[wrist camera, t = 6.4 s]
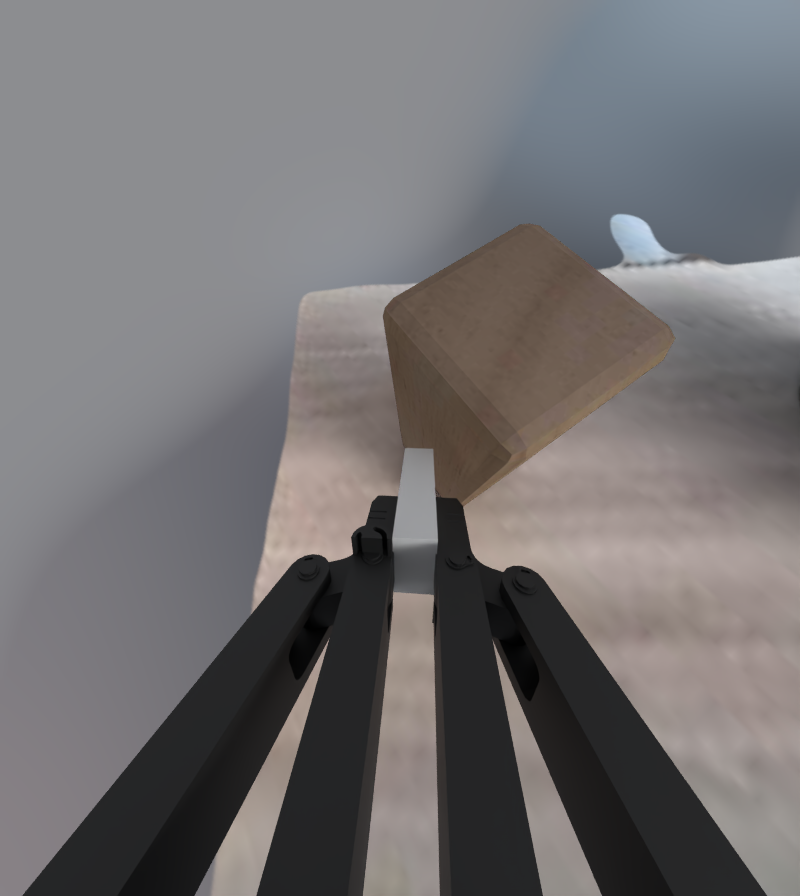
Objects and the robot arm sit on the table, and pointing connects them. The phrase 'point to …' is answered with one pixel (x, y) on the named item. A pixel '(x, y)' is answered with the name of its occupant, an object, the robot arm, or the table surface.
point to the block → (511, 355)
